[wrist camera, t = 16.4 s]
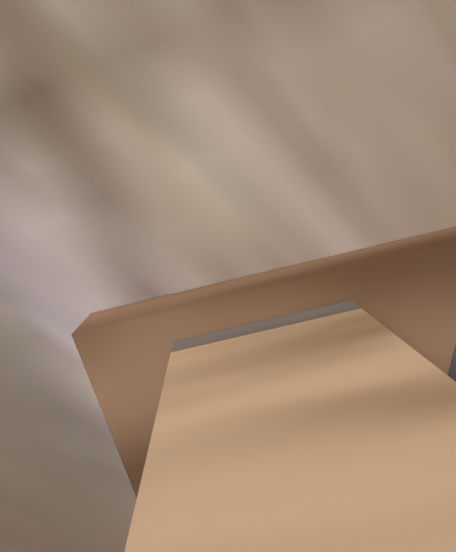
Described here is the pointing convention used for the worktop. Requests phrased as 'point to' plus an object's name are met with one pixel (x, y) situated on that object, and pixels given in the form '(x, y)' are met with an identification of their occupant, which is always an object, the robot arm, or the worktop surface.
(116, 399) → the board
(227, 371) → the block
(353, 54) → the worktop surface
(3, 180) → the worktop surface
